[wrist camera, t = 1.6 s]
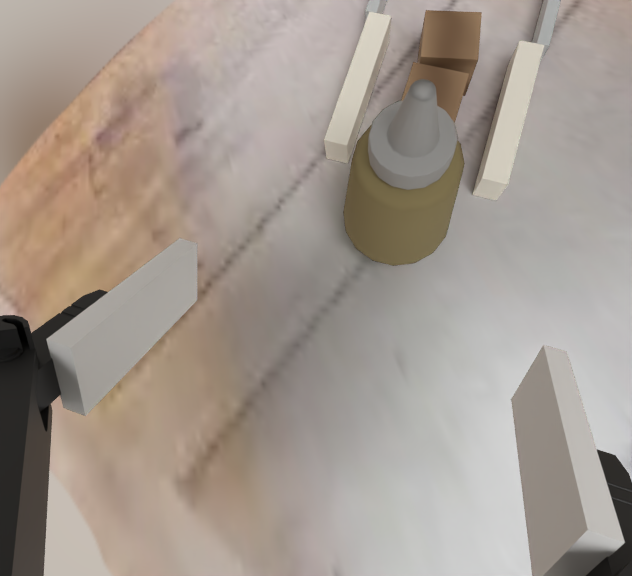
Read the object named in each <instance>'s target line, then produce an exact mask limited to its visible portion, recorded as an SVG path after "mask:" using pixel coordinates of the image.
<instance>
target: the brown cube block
mask: <svg viewBox="0 0 632 576" xmlns="http://www.w3.org/2000/svg"><path fill="white" fill-rule="evenodd" d="M481 14H482V12H456V11H430V10H426V12H425V18H424V23H423V29H422V35H421V40H420V46H419V53H418V62H417V63H420V64H425V65H430V66H434V67H439V68H444V69H449V70H454V71H459V72H464V73H468V74H469V76H468V79H467V83H466V86H465V89H464V93H463V96H465V94H466V91H467V89H468V86H469V83H470V80H471V78H472V75H473V72H474V69H475V67H476V64H477V61H478V53H479V40H480V27H481Z"/></svg>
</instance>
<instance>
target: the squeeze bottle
mask: <svg viewBox="0 0 632 576" xmlns="http://www.w3.org/2000/svg"><path fill="white" fill-rule="evenodd" d="M464 164H465V163H464V158H463V154H462V149H461V144H460V143H459V141H458V136H457V132H456V127H455V123H454V122H453V120H452V119H451V117H450V116H449V115H448V113H447V112H446V111H445V110H444V109H442V108H440V107H439V106H437V95H436V87H435V85H434V84H433V82H431V81H429V80H426V79H420V80H417V81H415V82H414V83H413V84H412V85H411V86H410V88H409V90H408V92H407V94H406V96H405V98H404V100H403V101H397V102H396V103H394V104H392V105H390V106H388V107H386V108H385V109H383V110H382V111H381V112H380V114H379V115H378V116H377V117H376V118H375V120H374V121H373V123H372V125H371V126H370V127H369V128H368V130H367V131H366V132H365V133H364V134H363V135H362V137H361V138H360V139H359V140H358V142H357V145H356V148H355V152H354V155H353V158H352V163H351V169H350V175H349V181H348V187H347V193H346V199H345V205H344V211H343V213H344V221H345V229H346V233H347V234H348V236H349V237H350V239H351V241H352V242H353V244H354V246H355V247H356V249H358V250H359V251H360V252H362V253H363V254H365V255H366V256H367V257H369V258H370V259H371V260H373V261H377V262H381V263H385V264H389V265H393V266H395V265H403V264H410V263H415V262H417V261H419V260H421V259H423V258H424V257H426V256H428V255H430V254H432V253H433V252H434V251H435V250H436V248H437V247H438V246H439V245H440V243H441V242H442V241H443V239H444V238H445V237H446V233H447V230H448V226H449V222H450V218H451V214H452V211H453V207H454V203H455V199H456V196H457V192H458V188H459V184H460V180H461V176H462V172H463V168H464Z"/></svg>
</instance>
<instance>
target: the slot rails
mask: <svg viewBox="0 0 632 576" xmlns="http://www.w3.org/2000/svg"><path fill="white" fill-rule="evenodd" d="M390 26H391V16H390V15H385V14H379V13H374V12H369V14H368V17H367V20H366V23H365V25H364V28H363V31H362V34H361V37H360V39H359V42H358V45H357V48H356V51H355V54H354V56H353V59H352V62H351V65H350V68H349V70H348V73H347V76H346V79H345V82H344V85H343V87H342V90H341V93H340V96H339V99H338V102H337V104H336V107H335V110H334V113H333V116H332V118H331V121H330V124H329V127H328V130H327V133H326V135H325V138H324V144H325V151H326V158H327V159H331V160H335V161H339V162H343V163H347V164H348V162H349V159H350V156H351V153H352V150H353V147H354V144H355V142H356V139H357V136H358V133H359V130H360V127H361V124H362V121H363V118H364V115H365V112H366V109H367V106H368V103H369V100H370V97H371V94H372V91H373V88H374V85H375V82H376V80H377V77H378V74H379V71H380V68H381V65H382V62H383V59H384V56H385V53H386V50H387V47H388V44H389V38H390ZM543 48H544V45H542V44H537V43H532V42H526V41H521V40H520V41H519V43H518V45H517V47H516V49H515V51H514V54H513V56H512V58H511V60H510V62H509V64H508V67H507V71H506V74H505V78H504V82H503V85H502V89H501V92H500V96H499V100H498V103H497V107H496V111H495V114H494V118H493V122H492V125H491V129H490V132H489V136H488V140H487V143H486V147H485V151H484V154H483V158H482V162H481V165H480V169H479V172H478V176H477V180H476V183H475V187H474V191H473V194H472V195H475V196H479V197H483V198H487V199H491V200H495V201H496V200H497V199H498V198H499V196H500V195H501V194H502V192H503V191H504V190H505V188H506V187H507V185H508V183H509V179H510V175H511V171H512V168H513V164H514V160H515V156H516V152H517V148H518V145H519V141H520V137H521V133H522V129H523V125H524V121H525V118H526V114H527V110H528V106H529V102H530V98H531V94H532V91H533V87H534V83H535V79H536V75H537V71H538V67H539V64H540V60H541V56H542V52H543Z"/></svg>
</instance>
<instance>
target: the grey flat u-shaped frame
mask: <svg viewBox="0 0 632 576" xmlns="http://www.w3.org/2000/svg"><path fill="white" fill-rule="evenodd" d="M386 2H387V0H369V2H368V5H367V8H366V11H365V23H366V20H367V17H368V14H369V12H374V13H379V14H383V11H384V8H385V5H386ZM560 2H561V0H543V3H542V7H541V10H540V14H539V18H538V22H537V25H536V29H535V33H534V37H533V40H532V43H537V44H542V45H544V48H543V52H542V56H541V60H542V58H543V56H544V54H545V53H546V51H547V49H548V47H549V45H550V41H551V37H552V33H553V29H554V25H555V22H556V18H557V14H558V10H559V6H560ZM541 60H540V62H541Z"/></svg>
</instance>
